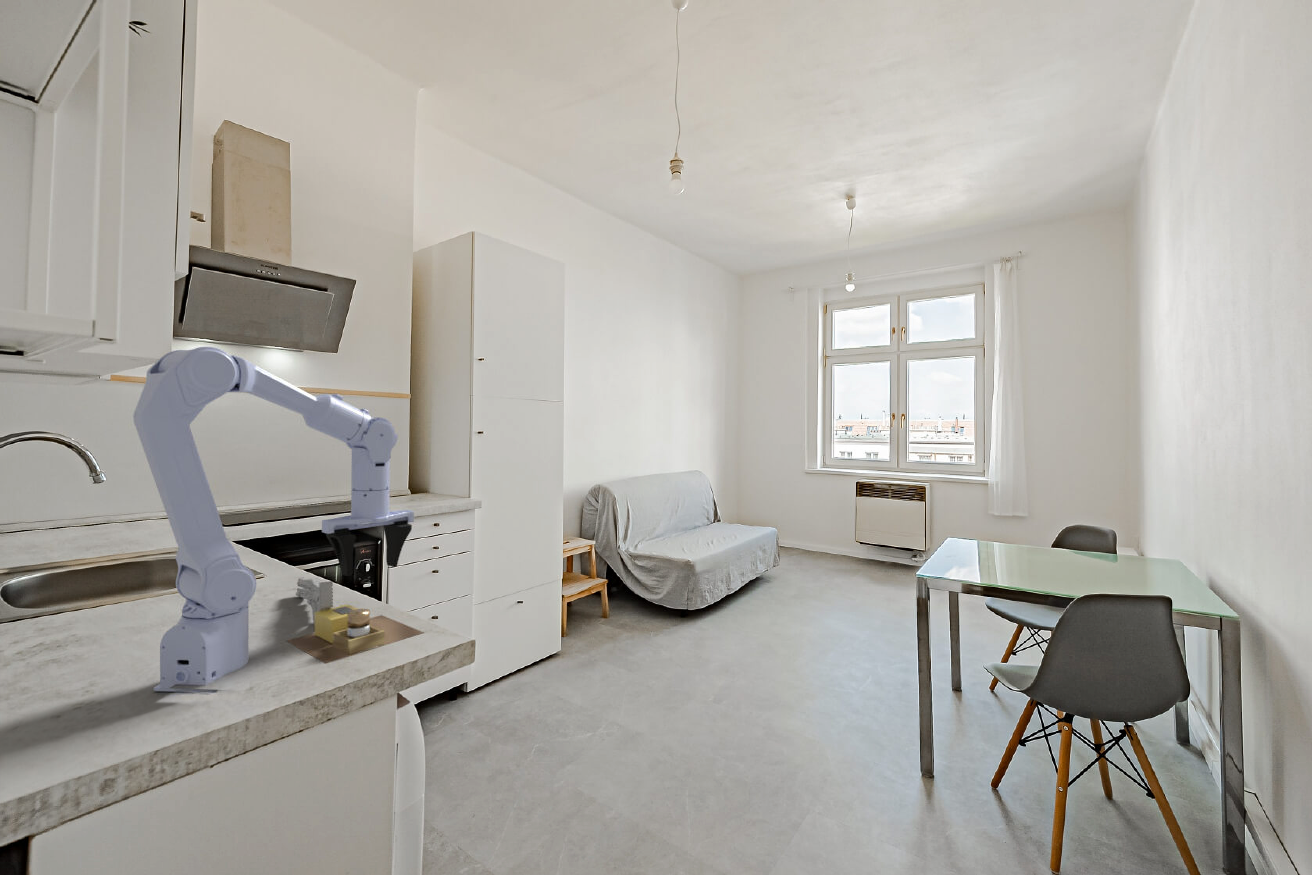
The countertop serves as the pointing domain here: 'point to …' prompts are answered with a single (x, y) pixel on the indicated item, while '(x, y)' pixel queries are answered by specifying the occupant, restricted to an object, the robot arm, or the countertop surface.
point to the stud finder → (331, 621)
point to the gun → (316, 594)
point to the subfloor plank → (354, 640)
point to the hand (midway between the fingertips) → (370, 570)
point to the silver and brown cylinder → (358, 623)
